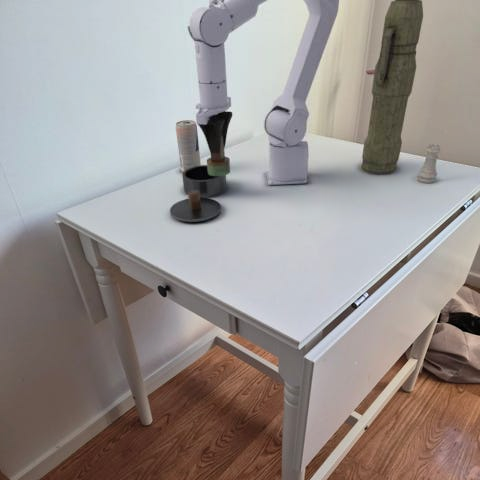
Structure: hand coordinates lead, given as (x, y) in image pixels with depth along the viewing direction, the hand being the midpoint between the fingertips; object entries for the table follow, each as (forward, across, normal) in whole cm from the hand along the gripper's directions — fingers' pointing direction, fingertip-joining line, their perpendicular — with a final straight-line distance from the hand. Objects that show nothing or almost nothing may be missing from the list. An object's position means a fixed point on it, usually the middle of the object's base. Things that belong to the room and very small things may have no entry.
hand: (217, 150), depth 94 cm
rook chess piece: (+11, -20, +45) cm, 51 cm away
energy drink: (+11, -13, -14) cm, 22 cm away
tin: (+10, -2, -5) cm, 12 cm away
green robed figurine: (+11, -26, +34) cm, 44 cm away
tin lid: (+10, +10, -2) cm, 14 cm away
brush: (+5, 0, 0) cm, 5 cm away
